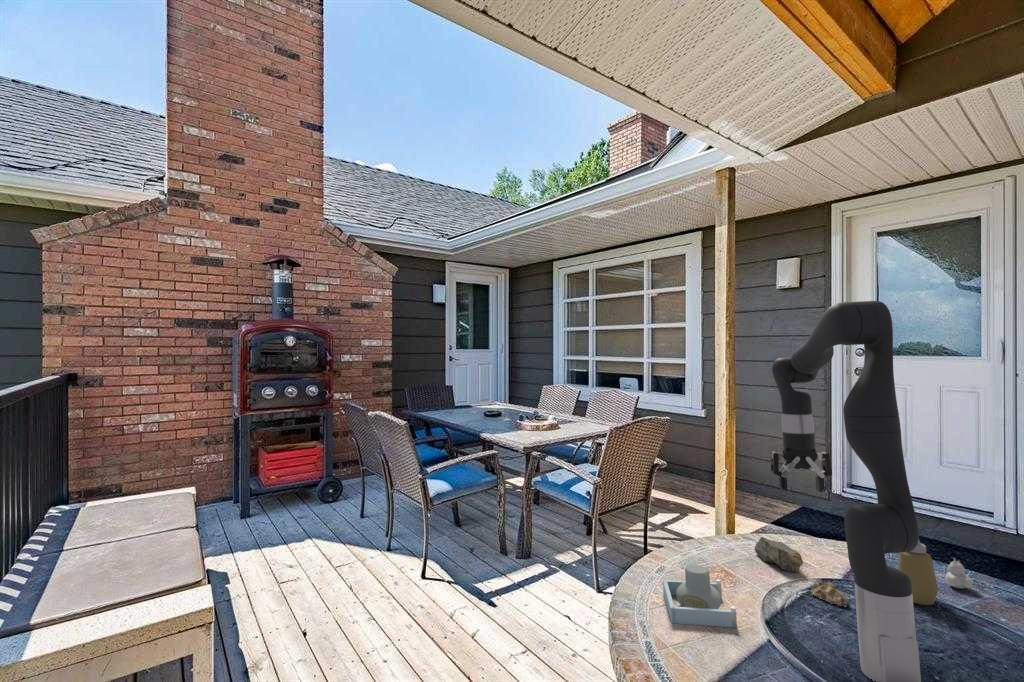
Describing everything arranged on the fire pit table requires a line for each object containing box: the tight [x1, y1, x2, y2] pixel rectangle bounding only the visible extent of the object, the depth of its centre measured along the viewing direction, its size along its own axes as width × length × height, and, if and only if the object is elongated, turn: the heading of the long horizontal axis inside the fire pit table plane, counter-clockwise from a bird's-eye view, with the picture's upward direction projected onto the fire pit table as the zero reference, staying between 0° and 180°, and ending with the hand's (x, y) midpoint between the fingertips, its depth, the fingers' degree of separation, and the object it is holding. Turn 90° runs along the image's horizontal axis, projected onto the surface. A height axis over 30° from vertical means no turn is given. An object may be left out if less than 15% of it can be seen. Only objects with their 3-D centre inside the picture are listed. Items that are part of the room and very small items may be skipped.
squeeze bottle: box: [897, 539, 939, 606], centre depth 123 cm, size 8×8×18 cm
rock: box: [754, 536, 804, 573], centre depth 148 cm, size 17×7×10 cm
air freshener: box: [675, 564, 722, 609], centre depth 122 cm, size 11×8×10 cm
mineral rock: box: [810, 580, 849, 606], centre depth 126 cm, size 11×4×8 cm
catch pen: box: [662, 578, 738, 629], centre depth 122 cm, size 16×15×4 cm
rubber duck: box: [945, 557, 974, 590], centre depth 129 cm, size 5×7×8 cm
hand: (802, 491), depth 127 cm, fingers open, 8 cm apart
